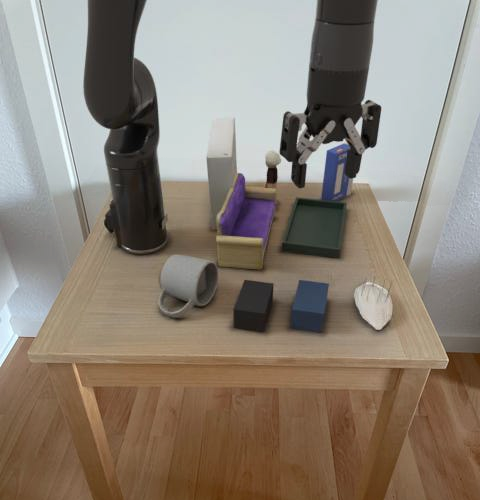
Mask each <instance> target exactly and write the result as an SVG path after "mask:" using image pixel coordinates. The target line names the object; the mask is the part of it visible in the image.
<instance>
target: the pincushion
mask: <svg viewBox="0 0 480 500" xmlns="http://www.w3.org/2000/svg"><path fill="white" fill-rule="evenodd" d="M375 279H376V277H374V280H373V281H375ZM366 280H367V277H366V279H365V280H364V281H363V283H362V284H360V285H359V286H357V287H356V288H355V289H354V294H353V298H354V301H355V306H356V308H357V309H358V310H359V315H360V316H361V317H362V319H364V320H365V321H366V322H368V324H369V325H370V326H372V327H373V328H374V329H375V330H376V331H377V330H378V331H381V330H382V329H383V328H384V327H385V326H386V325H387V323H388V322H390V320H391V319H392V316H393V308H394V305H393V301H392V297H391V295H390V292H391V286H392V282H393V281H391V282H390V286H389V288H388V290H387V289H386V288H385V286H384V285H385V281H386V280H384V283H383V285H382V286H381V285H379V284H375V282H369V281H368V282H367V281H366Z"/></svg>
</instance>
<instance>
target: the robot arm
mask: <svg viewBox="0 0 480 500" xmlns="http://www.w3.org/2000/svg"><path fill="white" fill-rule="evenodd" d="M147 1H148V0H87V33H86V47H85V58H84V69H83V83H82V85H83V87H82V89H83V90H82V91H83V97H84V102H85V105H86V108H87V110H88V112H89V114H90V116H91V117H92V119H94V121H95V122H96V123H97V124H98V125H100V126H101V127H103V128H105V129H108V130H109V133H108V135H107V138H106V140H105V143H104V144H103V155H104V161H105V165H106V170H107V176H108V181H109V186H110V191H111V197H112V199H111V200H110V202H109V205H108V206H109V210H107V211H106V213H105V214H104V217H105V218H104V219H103V226H104V227H105V229H106V230H107V231H108V232H109V234H113V233H114V237H115V241H116V247H117V248H121V249H122V250H123V251H125V252H127V253H129V254H134V255H148V254H153V253H156V252H158V251H161V250H162V249H164V248H165V247H166V246H167V244H168V242H169V237H168V231H167V223H168V221H169V220H168V214H167V213H166V214H165V205H164V197H163V189H162V188H163V187H162V181H161V180H162V179H161V173H160V172H161V171H160V163H159V154H158V147H159V144H160V137H161V132H160V129H161V128H160V118H159V117H160V116H159V103H158V102H159V101H158V93H157V87H156V84H155V83H156V82H155V79H154V77H153V75H152V73H151V71H150V69H149V68H148V67H147V66H146V64H145V63H144V62H143V61H141V60H140V59H138V58H137V57H135V49H136V48H135V47H136V39H137V35H138V30H139V26H140V23H141V20H142V16H143V14H144V10H145V8H146V4H147ZM377 6H378V0H316V7H315V18H314V25H313V30H312V35H311V41H310V49H309V50H310V51H309V62H308V63H309V65H308V76H307V86H306V107H305V109H304V112H301V113H293V112H291V111H289V110H287V111H285V112H284V113H283V117H282V126H281V134H280V142H279V143H280V144H279V151H278V152H279V153H278V154H279V156H280V157H283V158H284V159H285V160H286V161H287V162H288V163H291V173H290V179H291V182H292V183H293V184H294V185H295V186H296V187H297V188H298V189H305V188H306V180H307V179H306V177H307V168H308V164H307V161H308V159H309V158H310V157H311V155H312V154H313V153H315V152H317V151H318V149H319V147H321V145H328V144H330V143H331V144H332V143H333V142H335V143H339V142H344V141H345V143H346V142H347V144H348V145H349V147H350V148H351V149H349V150H348V151H347V158H346V164H345V175H346V176H348V177H349V178H350V179H352V178H353V179H356V178H357V175H358V174H359V172H360V169H361V163H362V159H363V154H364V153H365V151H366V150H367V149H369V148H370V149H374V148H375V147H376V146H377V144H378V137H379V130H380V121H381V116H382V115H381V114H382V105H380V104H378V103H376V102H374V101H373V100H371V99H367V100H365V102H364V104H362V102H363V101H364V99H365V95H366V90H367V83H368V77H369V73H370V72H369V71H370V64H371V58H372V52H373V46H374V34H375V33H374V32H375V31H374V29H375V20H376V14H377ZM361 118H362V121H361V129H360V130H361V131H360V133H359V131H358V130H357V128H356V125H357V123H358V122H359V121H360V119H361ZM304 124H305V126H306V127H305V128H304V129H302V127H303V125H304ZM302 130H303V131H302ZM301 131H302V133H301V134H300V135H299V132H301ZM311 137H312V139H311ZM310 139H311V140H310Z"/></svg>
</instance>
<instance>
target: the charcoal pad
mask: <svg viewBox="0 0 480 500" xmlns="http://www.w3.org/2000/svg"><path fill="white" fill-rule="evenodd" d="M274 285H275V284H274V283H271V282H264V281H260V280H259V281H258V280H251V279H244V280H243V282H242V286H241V287H240V290H239V293H238V295H237V299H236V301H235V304H234V306H233V328H234V329H239V330H246V331H252V332H257V333H258V332H259V333H265V330H266V326H267V324H268V319H269V316H270V312H271V309H272V305H273V302H274Z"/></svg>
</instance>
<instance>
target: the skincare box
mask: <svg viewBox="0 0 480 500" xmlns="http://www.w3.org/2000/svg"><path fill="white" fill-rule="evenodd" d="M205 158H206V170H207V181H208V183H207V184H208V193H209V206H210V218H211V219H210V220H211V229H212V230H213V231H215V230H216V231H218V230H217V215H218V213H219V212H220V211H221V209H222V207H223V205H224V202H225V200H226V198H227V195H228V193H229V190H230V188H233V184H234V176H235V173H238V166H237V165H238V164H237V163H238V162H237V138H236V117H235V116H234V117H232V116H231V117H213V118H212V122H211V127H210V133H209V141H208V146H207V152H206V157H205Z"/></svg>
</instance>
